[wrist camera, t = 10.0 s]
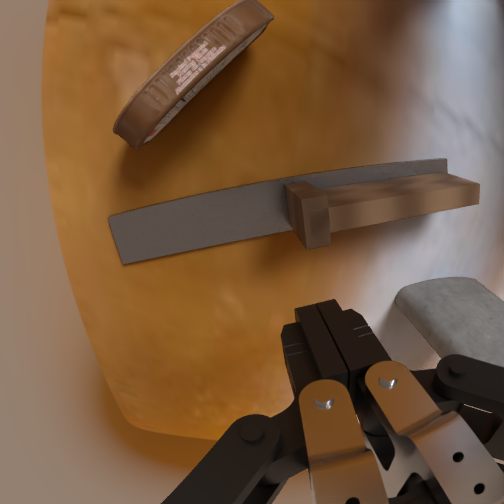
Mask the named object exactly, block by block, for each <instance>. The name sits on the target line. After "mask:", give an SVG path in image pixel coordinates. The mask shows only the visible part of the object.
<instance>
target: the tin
mask: <svg viewBox="0 0 504 504" xmlns="http://www.w3.org/2000/svg"><path fill="white" fill-rule="evenodd" d="M273 19H274V16H273V15H272V13H271V12H270V11H268V10H267V9H266V8H265V7H264V6H263V5H262V4H260V3H259V2H258V1H257V0H239V1H237V2H235V3H234V4H232V5H231V6H229V7H228V8H226V9H224V10H223V11H222V12H221V13H219V14H218V15H217V16H215V17H214V18H213V19H212V20H211V21H209V22H208V23H207V24H206V25H205V26H203V27H202V28H201V29H200V30H199V31H197V32H196V33H195V34H194V35H193V36H192V37H191V38H190V39H189V40H187V41H186V42H185V43H184V44H183V45H182V46H181V47H180V48H179V49H178V50H177V51H175V52H174V53H173V54H172V55H171V56H170V57H169V58H168V59H167V60H166V61H165V62H164V63H163V64H162V65H161V66H160V67H159V68H158V69H157V70H156V71H155V72H154V73H153V74H152V75H151V76H150V77H149V78H148V79H147V81H146V82H145V83H144V84H143V85H142V86H141V87H140V88H139V89H138V90H137V91H136V93H135V94H134V95H133V96H132V97H131V99H130V100H129V101H128V103H127V104H126V105H125V107H124V108H123V110H122V111H121V113H120V115H119V116H118V118H117V120H116V122H115V124H114V127H113V132H114V133H115V134H118V135H119V136H120V137H121V138H122V139H124V140H125V141H126V142H127V143H128V144H129V145H130V146H132V147H133V148H139V147H141V146H142V145H145V144H147V143H149V142H150V141H151V140H152V139H153V138H154V137H155V136H156V135H157V134H158V133H159V132H160V131H161V130H162V129H163V128H164V127H165V126H166V125H167V124H168V123H169V122H170V121H171V120H172V119H173V118H174V117H175V116H176V115H177V114H178V113H179V112H180V111H181V110H182V109H183V108H184V107H185V106H186V105H187V104H188V103H189V102H190V101H191V100H192V99H193V98H194V97H195V96H196V95H197V94H198V93H199V92H200V91H201V90H202V89H203V88H204V87H205V86H206V85H207V84H208V83H209V82H210V81H211V80H213V79H214V78H215V77H216V76H217V75H218V74H219V73H220V72H221V71H222V70H223V69H224V68H225V67H226V66H227V65H228V64H230V63H231V62H232V61H233V60H234V59H235V58H236V57H237V56H238V55H239V54H240V53H242V52H243V51H244V50H245V49H246V48H247V47H248V46H249V45H250V44H251V43H253V42H254V41H255V40H256V39H257V38H258V37H259V36H260V35H261V34H262V33H263V32H264V30H265V29H266V27H267V25H268V24H269V23H270V22H271V21H272V20H273Z"/></svg>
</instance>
